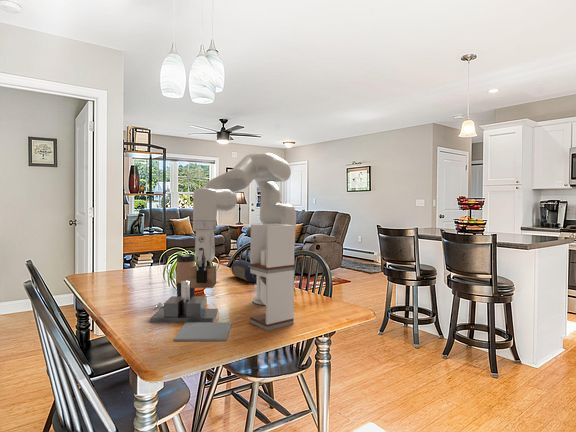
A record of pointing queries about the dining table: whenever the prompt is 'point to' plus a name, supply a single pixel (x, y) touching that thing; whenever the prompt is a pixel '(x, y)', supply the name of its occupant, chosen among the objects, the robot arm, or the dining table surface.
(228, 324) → the mat
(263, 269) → the grey two-tier cabinet
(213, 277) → the collar
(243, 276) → the portable speaker
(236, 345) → the dining table surface
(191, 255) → the travel mug
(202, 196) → the robot arm
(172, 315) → the vise
